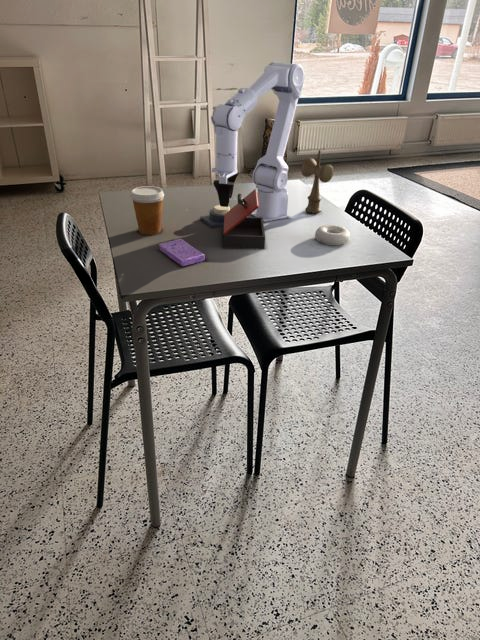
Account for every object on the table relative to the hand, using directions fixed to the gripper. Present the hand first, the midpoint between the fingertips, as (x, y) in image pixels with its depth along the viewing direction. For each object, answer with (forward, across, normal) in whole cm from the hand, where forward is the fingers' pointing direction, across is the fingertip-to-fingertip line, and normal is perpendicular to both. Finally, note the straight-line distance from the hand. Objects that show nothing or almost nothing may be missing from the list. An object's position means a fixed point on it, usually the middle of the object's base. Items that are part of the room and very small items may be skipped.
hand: (226, 201), depth 141 cm
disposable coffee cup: (+10, +3, -22) cm, 24 cm away
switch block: (+9, -10, -2) cm, 14 cm away
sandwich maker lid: (+2, +3, +5) cm, 6 cm away
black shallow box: (+9, +3, +6) cm, 11 cm away
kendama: (+10, -23, +26) cm, 36 cm away
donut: (+10, 0, +31) cm, 33 cm away
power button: (+7, -10, -2) cm, 12 cm away
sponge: (+10, +18, -9) cm, 22 cm away
